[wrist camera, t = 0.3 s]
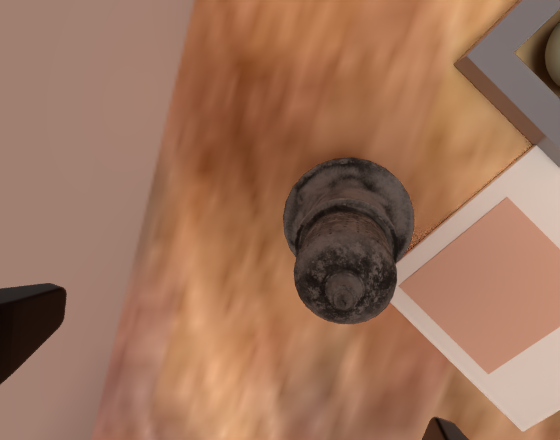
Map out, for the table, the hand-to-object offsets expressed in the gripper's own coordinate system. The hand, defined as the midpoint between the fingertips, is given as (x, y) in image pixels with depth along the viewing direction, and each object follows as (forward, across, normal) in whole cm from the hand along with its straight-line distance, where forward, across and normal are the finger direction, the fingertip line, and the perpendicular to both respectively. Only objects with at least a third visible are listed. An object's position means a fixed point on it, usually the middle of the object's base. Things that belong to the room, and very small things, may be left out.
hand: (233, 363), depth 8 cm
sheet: (+13, -13, 0) cm, 18 cm away
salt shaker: (+13, -2, -2) cm, 13 cm away
